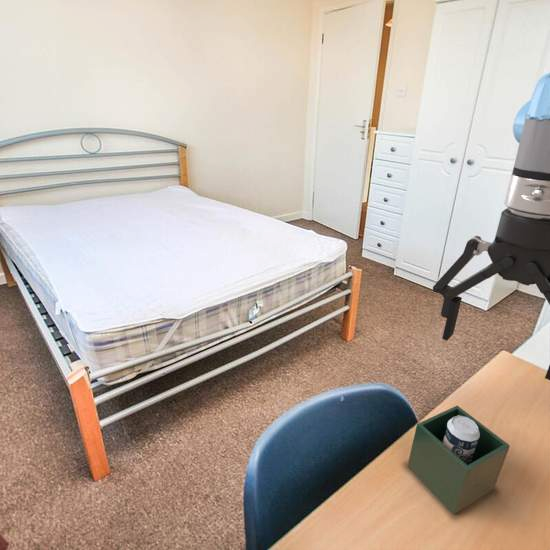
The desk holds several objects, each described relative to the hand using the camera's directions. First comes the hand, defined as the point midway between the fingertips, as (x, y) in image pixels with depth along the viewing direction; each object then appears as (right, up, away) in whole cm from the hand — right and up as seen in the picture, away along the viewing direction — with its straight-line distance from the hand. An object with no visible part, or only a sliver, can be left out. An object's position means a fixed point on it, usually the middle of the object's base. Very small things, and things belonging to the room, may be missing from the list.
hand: (494, 354), depth 56 cm
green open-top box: (-2, -24, +10) cm, 26 cm away
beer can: (-2, -23, +10) cm, 25 cm away
